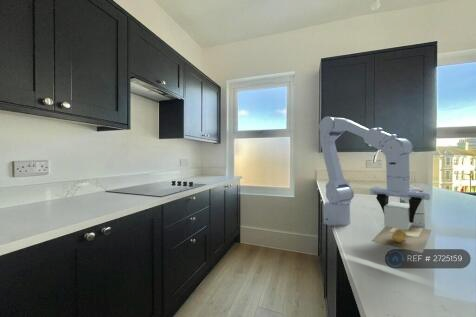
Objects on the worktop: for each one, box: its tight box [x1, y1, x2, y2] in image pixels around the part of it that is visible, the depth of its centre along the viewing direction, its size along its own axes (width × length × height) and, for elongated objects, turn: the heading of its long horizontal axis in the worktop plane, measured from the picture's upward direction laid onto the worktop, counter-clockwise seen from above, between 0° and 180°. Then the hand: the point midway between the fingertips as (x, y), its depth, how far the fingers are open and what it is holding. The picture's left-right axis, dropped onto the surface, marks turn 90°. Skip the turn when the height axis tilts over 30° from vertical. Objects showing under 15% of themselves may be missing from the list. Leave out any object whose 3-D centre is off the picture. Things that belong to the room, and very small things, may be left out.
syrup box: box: [399, 186, 426, 228], centre depth 81 cm, size 6×6×14 cm
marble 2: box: [392, 232, 404, 243], centre depth 63 cm, size 3×3×3 cm
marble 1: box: [395, 229, 406, 238], centre depth 65 cm, size 3×3×3 cm
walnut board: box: [371, 225, 432, 254], centre depth 68 cm, size 12×24×1 cm, turn 132°
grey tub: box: [383, 201, 413, 230], centre depth 64 cm, size 6×9×6 cm, turn 132°
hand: (398, 219), depth 64 cm, fingers closed on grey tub, 6 cm apart
